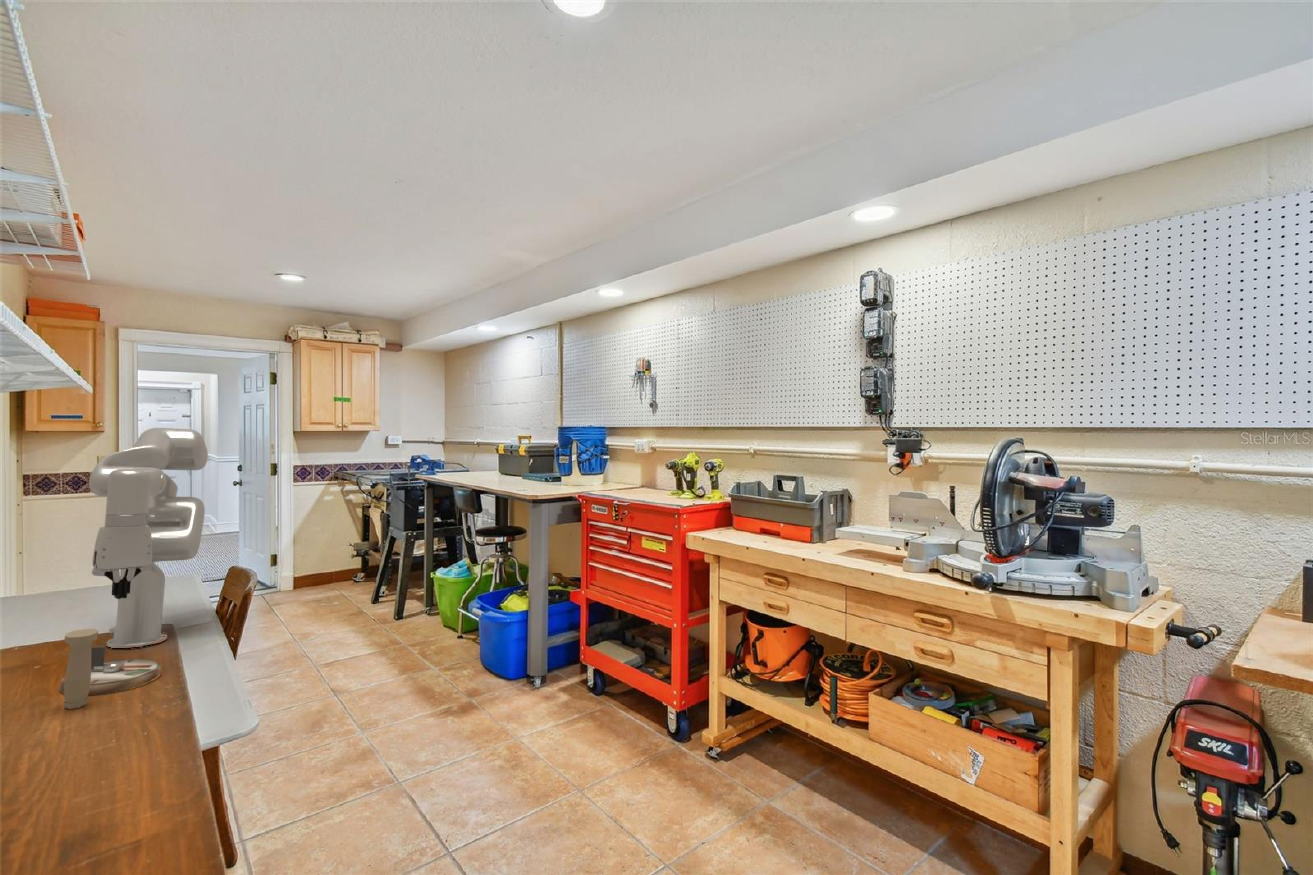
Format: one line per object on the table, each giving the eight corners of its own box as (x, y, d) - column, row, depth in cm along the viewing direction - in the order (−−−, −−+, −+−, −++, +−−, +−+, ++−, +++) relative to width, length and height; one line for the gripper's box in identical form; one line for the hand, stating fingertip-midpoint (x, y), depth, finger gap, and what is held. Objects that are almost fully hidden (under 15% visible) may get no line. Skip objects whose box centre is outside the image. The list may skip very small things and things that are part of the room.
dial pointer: (154, 666, 138) (156, 643, 138) (145, 671, 135) (147, 648, 135) (81, 668, 135) (83, 645, 135) (70, 674, 131) (72, 650, 132)
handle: (55, 715, 117) (62, 638, 118) (62, 703, 122) (68, 630, 123) (89, 709, 120) (95, 635, 121) (94, 699, 125) (100, 627, 126)
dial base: (136, 693, 129) (137, 681, 129) (39, 698, 124) (40, 686, 124) (175, 666, 145) (176, 656, 145) (90, 670, 140) (91, 660, 141)
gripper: (160, 517, 149) (154, 589, 149) (79, 521, 137) (73, 600, 137) (170, 520, 145) (165, 595, 145) (88, 525, 133) (81, 606, 132)
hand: (120, 597), depth 141 cm, fingers closed
